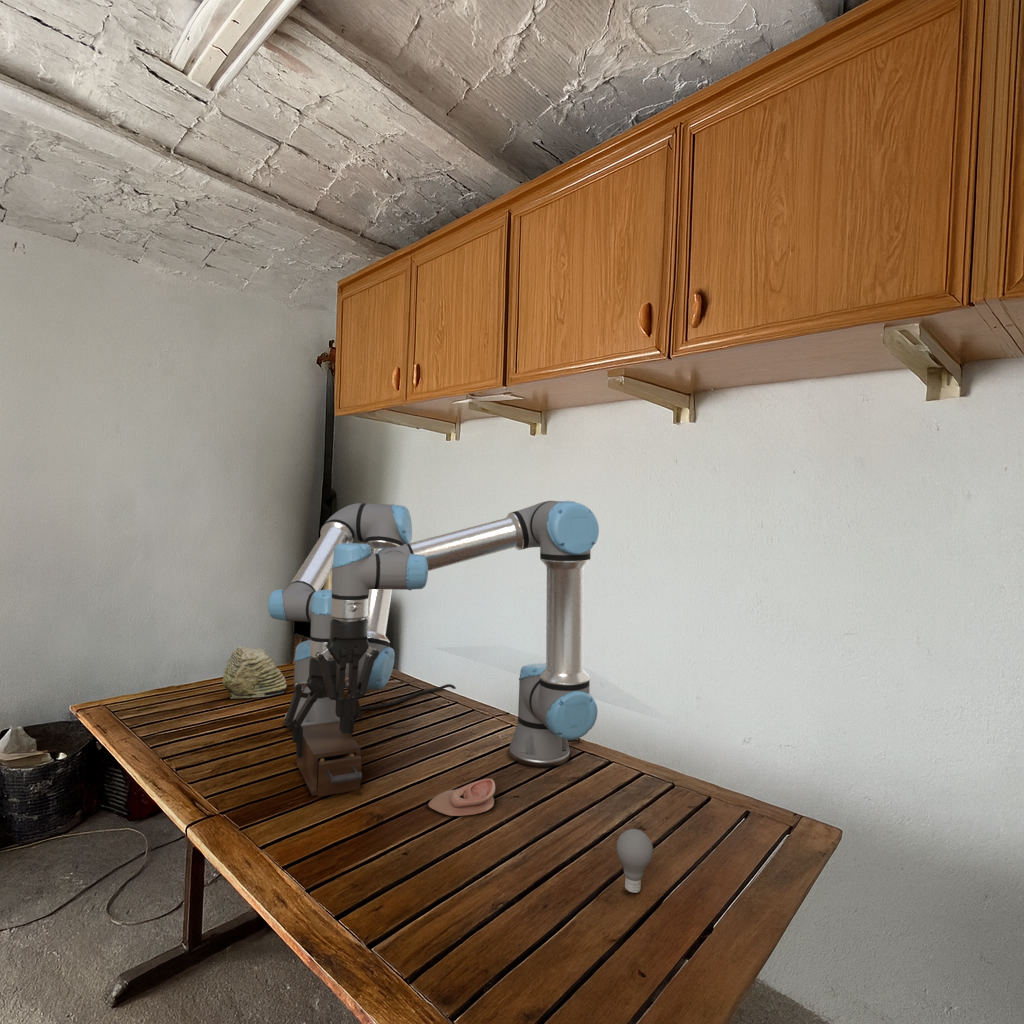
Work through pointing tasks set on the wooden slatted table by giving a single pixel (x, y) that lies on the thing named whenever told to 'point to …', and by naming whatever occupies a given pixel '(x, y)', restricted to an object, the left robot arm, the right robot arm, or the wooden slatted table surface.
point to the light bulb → (634, 857)
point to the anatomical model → (466, 799)
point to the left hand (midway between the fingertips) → (322, 751)
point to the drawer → (338, 774)
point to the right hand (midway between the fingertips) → (344, 731)
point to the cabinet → (322, 749)
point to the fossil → (252, 674)
